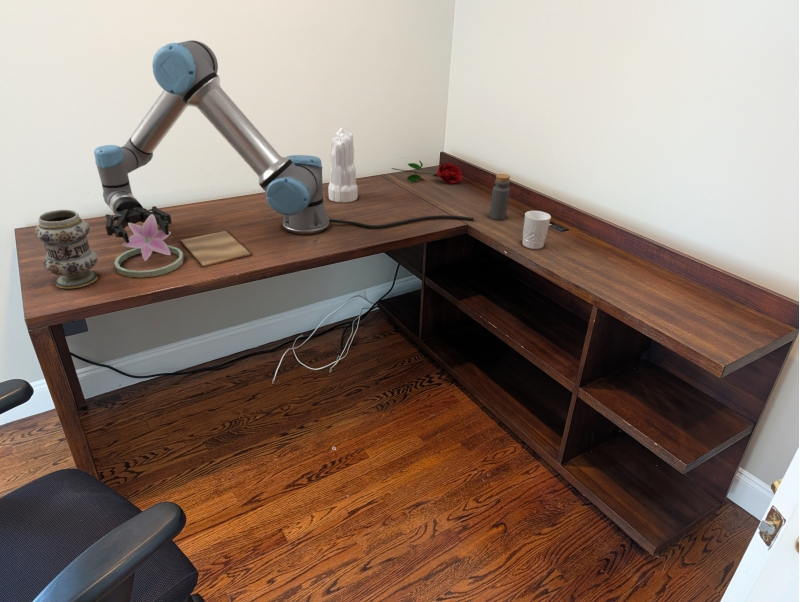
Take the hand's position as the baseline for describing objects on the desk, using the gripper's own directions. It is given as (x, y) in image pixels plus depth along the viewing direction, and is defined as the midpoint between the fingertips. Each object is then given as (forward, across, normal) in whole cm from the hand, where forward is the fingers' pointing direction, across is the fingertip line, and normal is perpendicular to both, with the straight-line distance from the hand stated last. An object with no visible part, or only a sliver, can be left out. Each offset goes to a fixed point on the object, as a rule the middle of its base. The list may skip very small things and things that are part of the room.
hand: (147, 234), depth 140 cm
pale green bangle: (-5, 0, -10) cm, 11 cm away
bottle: (+22, -111, -11) cm, 114 cm away
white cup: (+45, -103, -11) cm, 113 cm away
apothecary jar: (-4, +18, -10) cm, 22 cm away
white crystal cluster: (-24, -74, -11) cm, 79 cm away
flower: (-23, -114, -11) cm, 117 cm away
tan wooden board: (-5, -18, -10) cm, 22 cm away
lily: (-4, -1, -8) cm, 9 cm away
